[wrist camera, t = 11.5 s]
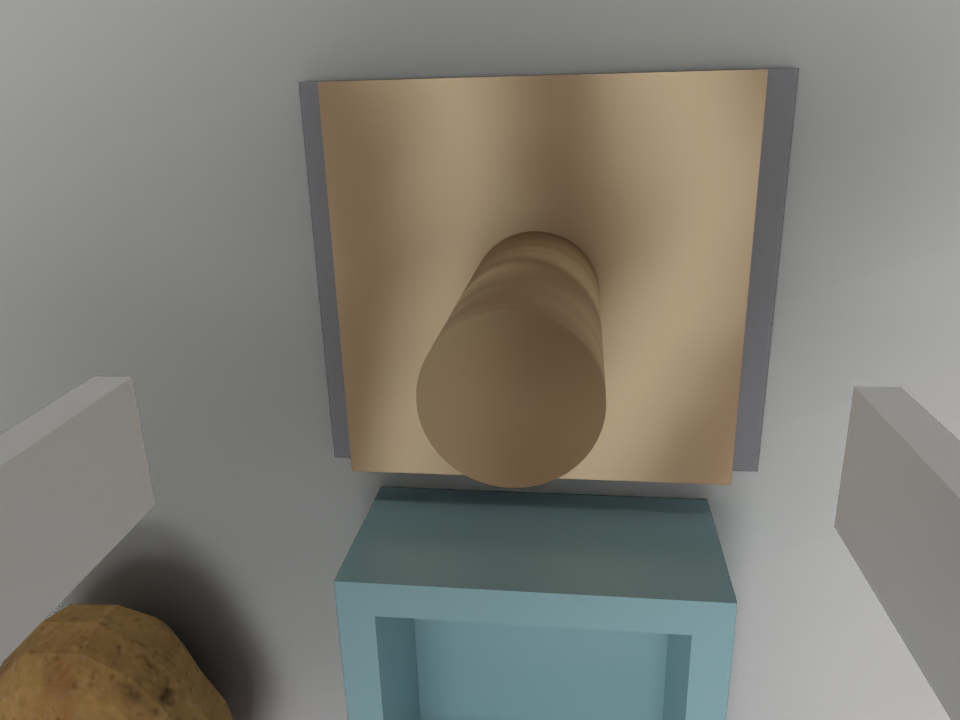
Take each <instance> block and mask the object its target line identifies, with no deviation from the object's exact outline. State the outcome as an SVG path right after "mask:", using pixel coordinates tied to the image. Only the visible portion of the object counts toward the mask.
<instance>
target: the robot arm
mask: <svg viewBox="0 0 960 720" xmlns="http://www.w3.org/2000/svg"><path fill="white" fill-rule="evenodd" d="M154 506H155V500H154V494H153V489H152V483H151V478H150V472H149V467H148V461H147V456H146V451H145V445H144V440H143V434H142V429H141V423H140V418H139V412H138V407H137V401H136V396H135V391H134V385H133V380H132V377H103V376H94V377H92V378H91V379H89V380H87V381H86V382H84V383H83V384H81V385H79V386H78V387H76V388H75V389H73V390H71V391H70V392H68V393H66V394H65V395H63V396H62V397H60V398H58V399H57V400H55V401H54V402H52V403H50V404H49V405H47V406H46V407H44V408H42V409H41V410H39V411H38V412H36V413H34V414H33V415H31V416H30V417H28V418H26V419H25V420H23V421H22V422H20V423H18V424H17V425H15V426H14V427H12V428H10V429H9V430H7V431H6V432H4V433H2V434H1V435H0V665H1V664H2V663H3V662H4V660H5V659H6V658H7V657H8V656H9V655H10V654H11V653H12V652H13V651H14V650H15V649H16V648H17V647H18V646H19V645H20V644H21V643H22V642H23V641H24V640H25V639H26V638H27V637H28V636H29V635H30V634H31V633H32V632H33V631H34V630H35V629H36V628H37V627H38V625H39V624H40V623H41V622H42V621H43V620H44V619H45V618H46V617H47V616H48V615H49V614H50V613H51V612H52V611H53V610H54V609H55V608H56V607H57V606H58V605H59V604H60V603H61V602H62V601H63V600H64V599H65V598H66V597H67V596H68V595H69V594H70V593H71V592H72V590H73V589H74V588H75V587H76V586H77V585H78V584H79V583H80V582H81V581H82V580H83V579H84V578H85V577H86V576H87V575H88V574H89V573H90V572H91V571H92V570H93V569H94V568H95V567H96V566H97V565H98V564H99V563H100V562H101V561H102V560H103V559H104V558H105V556H106V555H107V554H108V553H109V552H110V551H111V550H112V549H113V548H114V547H115V546H116V545H117V544H118V543H119V542H120V541H121V540H122V539H123V538H124V537H125V536H126V535H127V534H128V533H129V532H130V531H131V530H132V529H133V528H134V527H135V526H136V525H137V524H138V523H139V521H140V520H141V519H142V518H143V517H144V516H145V515H146V514H147V513H148V512H149V511H150V510H151V509H152V508H153V507H154ZM834 527H835V528H836V530H837V532H838V533H839V535H840V536H841V538H842V540H843V541H844V543H845V545H846V546H847V548H848V550H849V551H850V553H851V555H852V556H853V558H854V560H855V561H856V563H857V565H858V566H859V568H860V570H861V571H862V573H863V575H864V576H865V578H866V580H867V581H868V583H869V585H870V586H871V588H872V590H873V591H874V593H875V595H876V596H877V598H878V600H879V601H880V603H881V605H882V606H883V608H884V610H885V611H886V613H887V614H888V616H889V618H890V619H891V621H892V623H893V624H894V626H895V628H896V629H897V631H898V633H899V634H900V636H901V638H902V639H903V641H904V643H905V644H906V646H907V648H908V649H909V651H910V653H911V654H912V656H913V658H914V659H915V661H916V663H917V664H918V666H919V668H920V669H921V671H922V673H923V674H924V676H925V678H926V679H927V681H928V683H929V684H930V686H931V687H932V689H933V691H934V692H935V694H936V696H937V697H938V699H939V701H940V702H941V704H942V706H943V707H944V709H945V711H946V712H947V714H948V716H949V717H950V719H951V720H960V441H959V440H958V439H957V438H956V437H955V436H954V435H953V434H952V433H951V432H950V431H948V430H947V429H946V428H945V427H944V426H943V425H942V424H941V423H940V422H939V421H937V420H936V419H935V418H934V417H933V416H932V415H931V414H930V413H929V412H928V411H927V410H925V409H924V408H923V407H922V406H921V405H920V404H919V403H918V402H917V401H916V400H914V399H913V398H912V397H911V396H910V395H909V394H908V393H907V392H906V391H905V390H904V389H902V388H901V387H856V386H854V391H853V398H852V405H851V412H850V419H849V427H848V434H847V441H846V448H845V455H844V462H843V469H842V476H841V483H840V490H839V497H838V504H837V511H836V518H835V525H834Z"/></svg>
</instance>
